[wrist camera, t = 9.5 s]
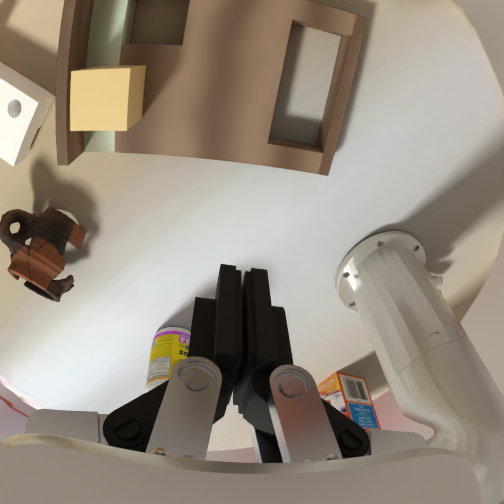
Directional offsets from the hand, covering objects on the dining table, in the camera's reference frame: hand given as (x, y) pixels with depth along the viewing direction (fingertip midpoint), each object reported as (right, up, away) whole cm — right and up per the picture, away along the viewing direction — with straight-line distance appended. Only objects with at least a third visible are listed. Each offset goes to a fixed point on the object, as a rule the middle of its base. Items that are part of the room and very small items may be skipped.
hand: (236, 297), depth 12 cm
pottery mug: (-23, +4, +20) cm, 31 cm away
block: (-10, +15, +10) cm, 20 cm away
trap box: (-3, +17, +12) cm, 21 cm away
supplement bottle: (-10, -11, +31) cm, 34 cm away
